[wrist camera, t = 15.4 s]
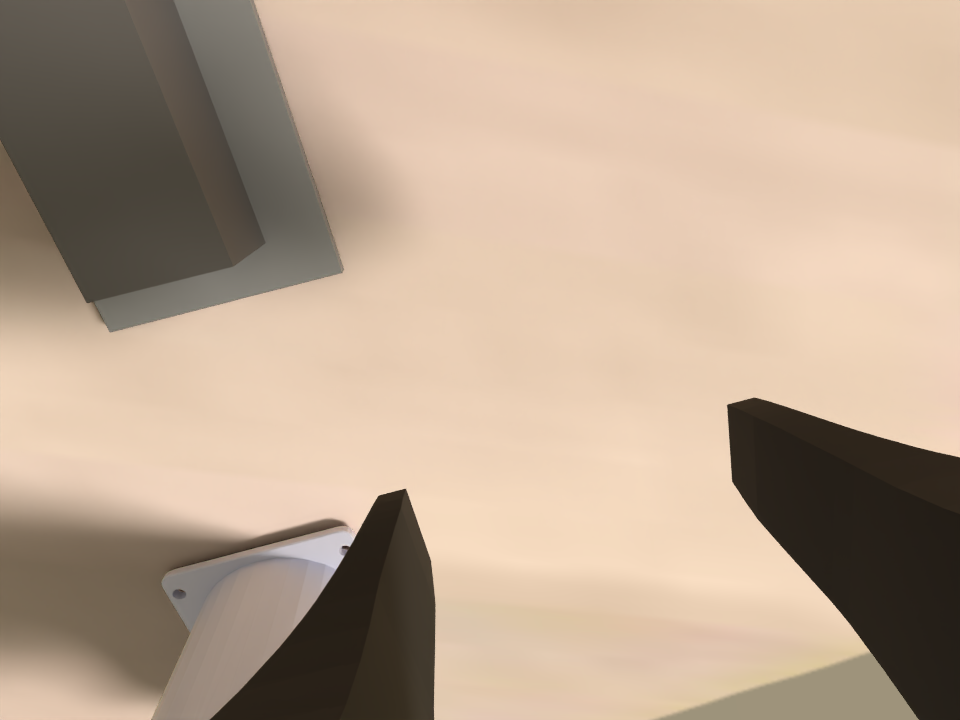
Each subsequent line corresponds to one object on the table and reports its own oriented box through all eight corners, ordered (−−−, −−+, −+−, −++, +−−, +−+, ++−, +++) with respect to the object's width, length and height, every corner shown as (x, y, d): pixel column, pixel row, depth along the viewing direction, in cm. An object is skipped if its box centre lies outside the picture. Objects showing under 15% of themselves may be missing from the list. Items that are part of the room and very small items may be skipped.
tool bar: (265, 242, 18) (233, 266, 15) (145, 272, 18) (87, 303, 15) (101, -189, 14) (7, -286, 11) (-56, -151, 14) (-199, -238, 11)
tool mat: (343, 269, 19) (341, 273, 19) (117, 327, 19) (110, 332, 19) (196, -170, 15) (188, -181, 14) (-105, -96, 15) (-122, -104, 14)
